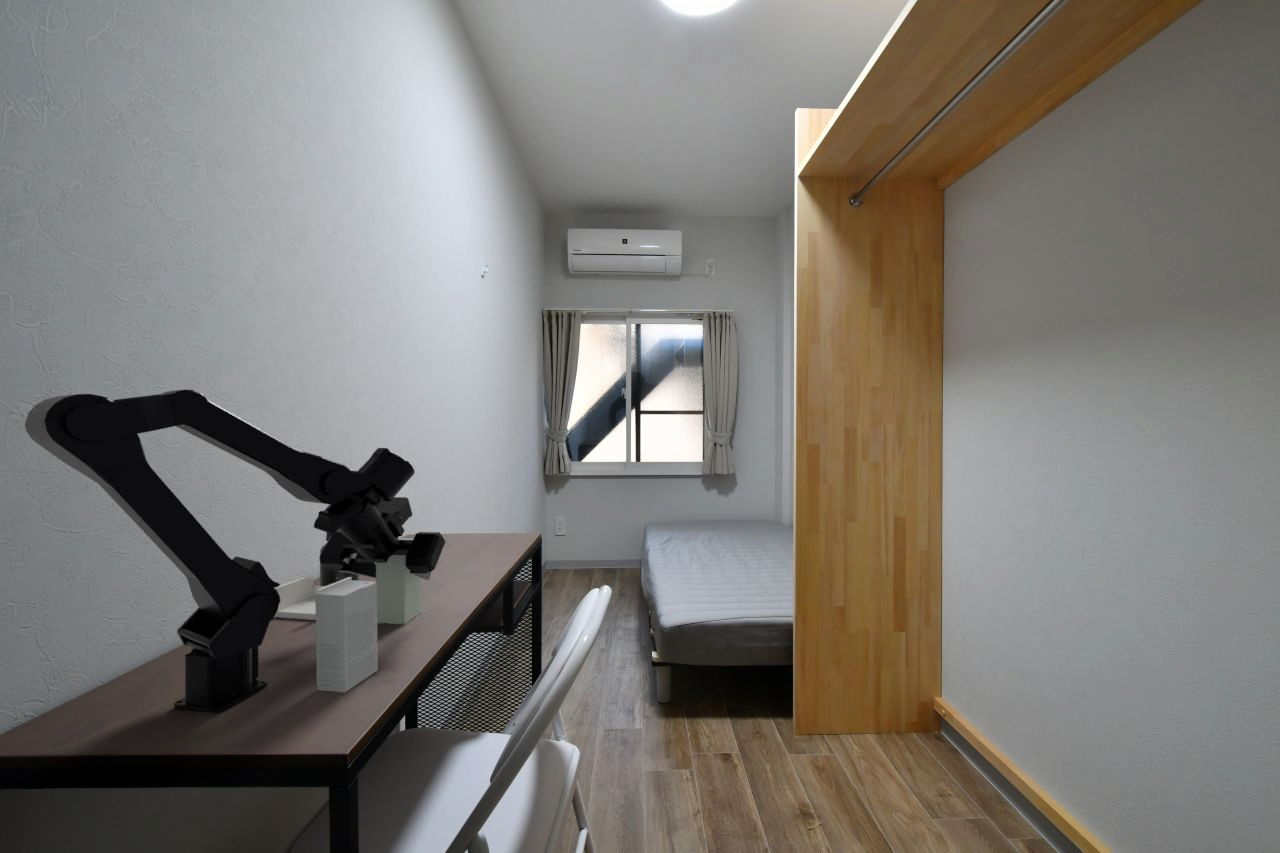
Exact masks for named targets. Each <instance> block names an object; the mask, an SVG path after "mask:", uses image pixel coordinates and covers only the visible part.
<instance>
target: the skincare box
mask: <svg viewBox="0 0 1280 853" xmlns="http://www.w3.org/2000/svg"><path fill="white" fill-rule="evenodd" d="M315 606H316V620H315V650H316V651H315V654H316V656H315V660H316V661H315V662H316V669H315V670H316V689H317V691H323V692H332V693H333V692H334V693H343V694H344V693H347V692H348V691H349V690H351V689H353V688H354V687H356V686H357V685H358V684H360V683H362V682H363V681H364V680H366V679H367V678H368V677H370V676H372V675H373V674H374V673H376V672H377V671H378V669H379V662H378V661H379V653H378V652H379V646H378V623H377V583H376V581H371V580H370V581H368V580H359V581H356V580H350V581H347V582H345V583H342V584H340V585H338V586H335V587H332V588H330V589H327V590H325V591H322V592H320V593H317V594H316V595H315Z"/></svg>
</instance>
